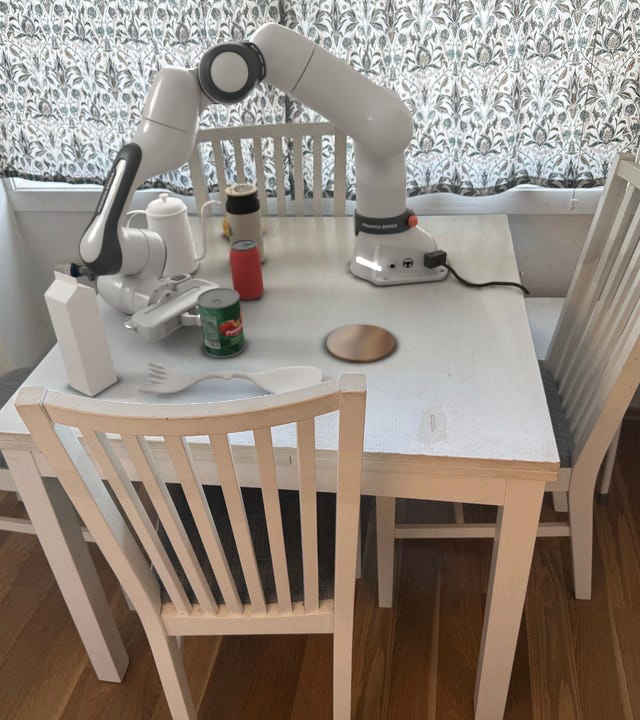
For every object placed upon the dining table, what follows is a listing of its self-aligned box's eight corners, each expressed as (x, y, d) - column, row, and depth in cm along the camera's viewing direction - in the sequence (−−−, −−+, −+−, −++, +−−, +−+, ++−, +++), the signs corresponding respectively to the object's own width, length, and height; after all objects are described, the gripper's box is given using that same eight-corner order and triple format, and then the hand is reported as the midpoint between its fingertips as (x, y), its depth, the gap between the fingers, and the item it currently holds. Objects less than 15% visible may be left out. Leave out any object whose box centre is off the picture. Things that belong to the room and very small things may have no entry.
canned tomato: (209, 336, 135) (201, 287, 129) (248, 336, 134) (242, 287, 129) (200, 358, 129) (192, 307, 123) (241, 358, 128) (235, 307, 122)
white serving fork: (152, 374, 125) (148, 359, 123) (325, 373, 122) (324, 357, 120) (138, 404, 117) (135, 387, 115) (323, 402, 115) (322, 386, 113)
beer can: (270, 293, 150) (265, 242, 144) (248, 304, 146) (242, 253, 140) (249, 285, 154) (244, 235, 147) (228, 295, 150) (221, 245, 144)
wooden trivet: (393, 327, 135) (393, 324, 134) (395, 362, 124) (395, 360, 124) (328, 327, 136) (328, 324, 136) (324, 362, 125) (324, 359, 125)
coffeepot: (224, 279, 157) (214, 201, 147) (121, 280, 160) (104, 203, 150) (233, 260, 166) (224, 185, 156) (135, 260, 169) (120, 187, 159)
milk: (96, 371, 127) (68, 263, 115) (118, 381, 124) (91, 271, 112) (70, 387, 123) (38, 277, 111) (91, 398, 120) (60, 285, 108)
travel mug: (265, 253, 169) (258, 182, 159) (264, 266, 162) (257, 193, 152) (233, 255, 169) (224, 184, 159) (231, 268, 162) (222, 195, 152)
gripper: (115, 309, 130) (165, 329, 123) (191, 270, 143) (240, 285, 136) (122, 337, 133) (170, 358, 126) (195, 296, 147) (243, 313, 139)
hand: (207, 320), depth 131 cm, fingers closed, pressing on canned tomato
